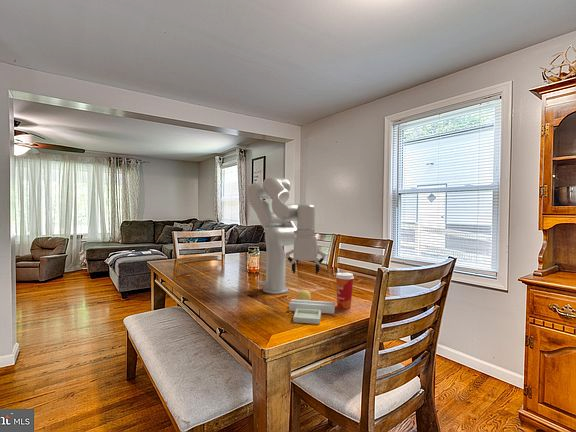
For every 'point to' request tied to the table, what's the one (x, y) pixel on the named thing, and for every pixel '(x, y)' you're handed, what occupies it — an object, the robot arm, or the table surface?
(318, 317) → the dish
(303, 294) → the ball
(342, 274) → the paper cup
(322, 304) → the rails
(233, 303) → the table surface
